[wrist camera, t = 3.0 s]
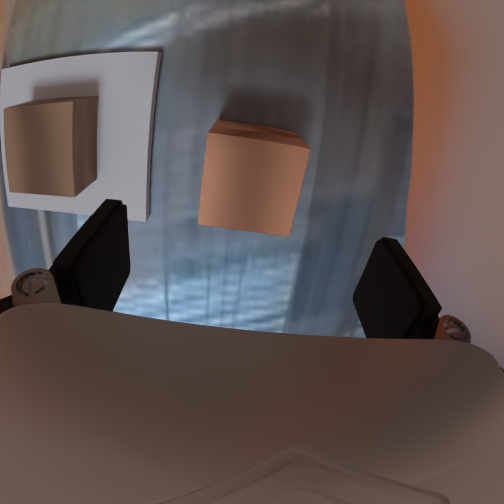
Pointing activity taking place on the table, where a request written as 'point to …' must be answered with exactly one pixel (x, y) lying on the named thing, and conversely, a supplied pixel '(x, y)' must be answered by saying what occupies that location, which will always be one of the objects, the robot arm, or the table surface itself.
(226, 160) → the terracotta cube
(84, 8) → the table surface
